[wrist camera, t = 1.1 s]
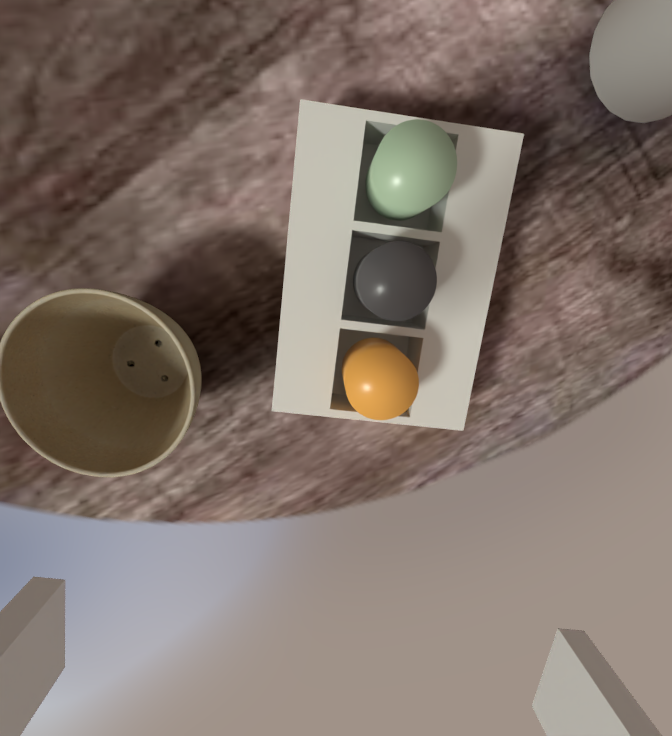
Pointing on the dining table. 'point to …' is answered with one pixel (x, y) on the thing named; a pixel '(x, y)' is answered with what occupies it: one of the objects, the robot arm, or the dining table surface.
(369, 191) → the green button
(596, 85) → the can
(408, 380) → the orange rounded piece
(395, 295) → the black button
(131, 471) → the flower pot
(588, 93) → the dining table surface
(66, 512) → the dining table surface
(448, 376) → the white compartment box
